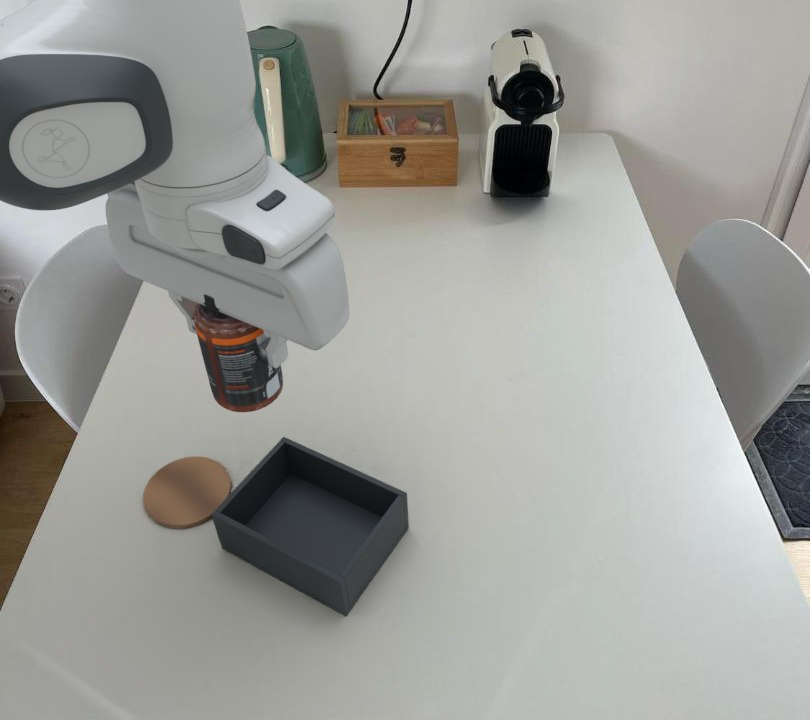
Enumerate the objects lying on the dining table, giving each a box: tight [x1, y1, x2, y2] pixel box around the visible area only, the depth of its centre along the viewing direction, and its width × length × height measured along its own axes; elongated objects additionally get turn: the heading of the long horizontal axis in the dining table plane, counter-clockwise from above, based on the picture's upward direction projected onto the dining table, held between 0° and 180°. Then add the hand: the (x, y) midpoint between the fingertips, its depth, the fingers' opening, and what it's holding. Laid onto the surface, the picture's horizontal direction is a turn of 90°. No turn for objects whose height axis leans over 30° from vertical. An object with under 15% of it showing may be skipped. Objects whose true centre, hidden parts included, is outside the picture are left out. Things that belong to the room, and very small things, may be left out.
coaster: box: [142, 456, 233, 529], centre depth 85 cm, size 9×9×1 cm
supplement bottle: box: [194, 294, 284, 413], centre depth 64 cm, size 6×6×11 cm
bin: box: [211, 436, 410, 617], centre depth 78 cm, size 11×15×6 cm
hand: (239, 345), depth 64 cm, fingers closed on supplement bottle, 6 cm apart
